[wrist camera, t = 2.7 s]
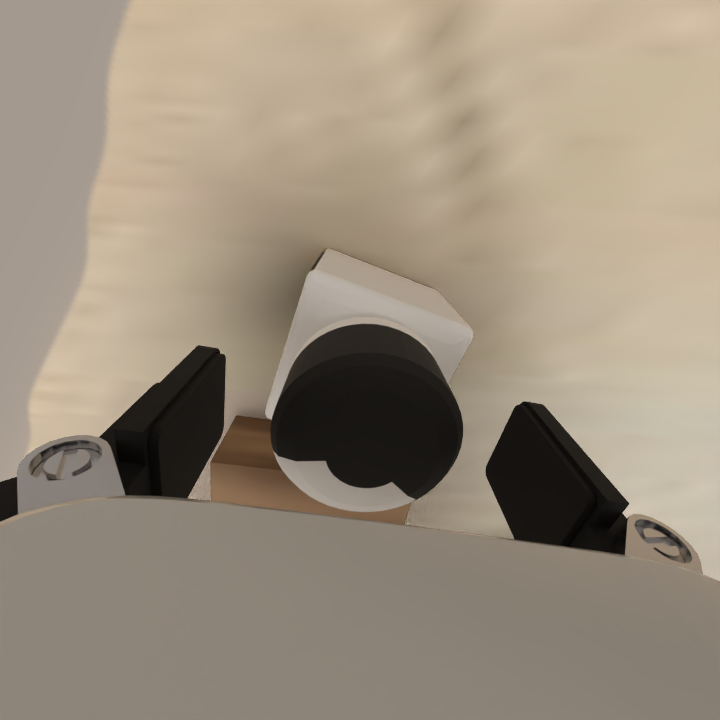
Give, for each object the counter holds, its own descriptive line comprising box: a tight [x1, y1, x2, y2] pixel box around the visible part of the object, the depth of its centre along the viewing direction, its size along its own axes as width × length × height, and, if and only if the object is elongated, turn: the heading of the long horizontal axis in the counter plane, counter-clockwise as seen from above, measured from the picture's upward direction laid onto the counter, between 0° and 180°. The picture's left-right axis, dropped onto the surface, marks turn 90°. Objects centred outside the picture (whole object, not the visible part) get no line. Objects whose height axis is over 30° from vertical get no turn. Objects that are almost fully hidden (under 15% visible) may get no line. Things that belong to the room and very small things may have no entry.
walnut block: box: [210, 416, 411, 525], centre depth 25 cm, size 12×12×5 cm
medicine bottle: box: [265, 248, 474, 512], centre depth 16 cm, size 7×7×12 cm
